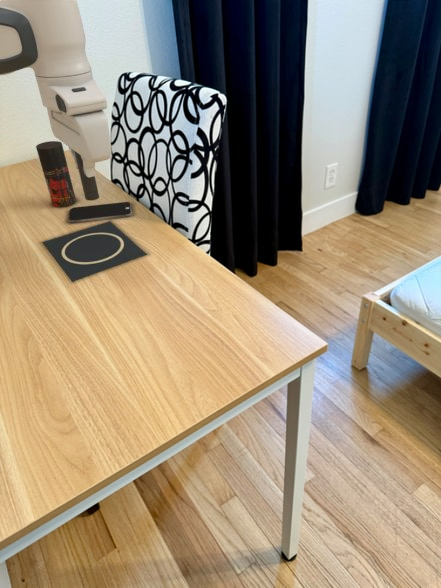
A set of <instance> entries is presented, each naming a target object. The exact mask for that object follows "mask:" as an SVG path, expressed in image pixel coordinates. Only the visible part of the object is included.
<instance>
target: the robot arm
mask: <svg viewBox="0 0 441 588" xmlns="http://www.w3.org/2000/svg"><path fill="white" fill-rule="evenodd" d="M77 1H78V0H0V76H7V75H10V74H13V73H15V72H17V71H20V70H23V69H26V68H27V69H32V71H33V73H34V77H35V80H36V84H37V88H38V91H39V95H40V99H41V103H42V105H43V107H44V108H46V110H47V115H48V120H49V124H50V128H51V129H50V130H51V132H52V134H53V136H54V137H55V138H56V139H57V140H58V141H59V142H61V143H62V144H63V145H66V146H67V147H68V150H69V152H70V155H71V157H72V159H73V161H74V164H75V169H77V170H78V166H77V161H76V157H75V153H74V151H76V152H77V153H78V154H80V155H81V158H82V159H83V166H82V168H83V171H84V174H85V175H86V176H87V177H93V176H95V177H96V175H97V171H96V163H99V162H100V163H101V162H104V161H108V160H110V159H111V156H112V145H111V135H110V130H109V129H110V128H109V123H108V119H107V115H106V112H105V111H104V110H106V109H107V108H108V104H107V103H108V102H107V98H106V95H105V94H104V92H103V91H102V90H101V89H100V88H99V86H98V85H97V83H96V80H95V79H94V77H93V71H92V67H91V64H90V62H89V59H88V57H87V53H86V52H87V51H86V35H85V29H84V24H83V20H82V17H81V16H82V15H81V11H80V7H79V4H78V2H77Z"/></svg>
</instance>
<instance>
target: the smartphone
mask: <svg viewBox="0 0 441 588" xmlns="http://www.w3.org/2000/svg"><path fill="white" fill-rule="evenodd" d="M132 215H133V211H132V203H131V202H129V201H122V202H114V203H113V202H111V203H103V204H94V205H86V206H85V205H84V206H76V207H71V208H70V209H69V212H68V217H67V221H68V223H70V224H77V223H86V222H96V221H104V220H105V221H106V220H114V219H124V218H129V217H130V218H131V216H132Z"/></svg>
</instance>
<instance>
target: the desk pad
mask: <svg viewBox="0 0 441 588" xmlns="http://www.w3.org/2000/svg"><path fill="white" fill-rule="evenodd" d="M42 244H43V245H44V247H45V248H46V249H47V250H48V252H49V253H50V255H51V256H52V257H53V258H54V259H55V262H56V263H57V264H59V266H60V267H61V269H62V270H63V271H64V272H65V274H66V275H67V277H68V278H69V280H70V281H71V282H73V283H74V282H76V281H79V280H81V279H82V280H83V279H84V278H87V277H90V276H93V275H96V274H98V273H100V272H101V273H102V272H103V271H107V270H109V269H111V268H114V267H118V266H120V265H123V264H125V263H128V262H130V261H134V260H136V259H139V258H142V257H144V256H147V255H148V253H146V251H144V250H143V249H142V248H141V247H140V246H139V245H138V244H136V243H135V242H134V241H133V240H132V239H131V238H130V237H128V236H127V234H125V233H124V232H123V231H122V230H121V229H119V228H118V227H117V226H116V225H115V224H114V223H113V222H112V221H110V220H109V221H106V222H103V223H99V224H96V225H93V226H89V227H87V228H83V229H80V230H77V231H73V232H70V233H67V234H64V235H60V236H58V237H54V238H51V239H48V240H45V241H42Z"/></svg>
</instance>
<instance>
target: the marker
mask: <svg viewBox="0 0 441 588" xmlns="http://www.w3.org/2000/svg"><path fill="white" fill-rule="evenodd" d="M74 153H75V157H76V161H77V166H78V169H77V170H78V174H79V178H80V182H81V186H82V191H83V194H84V199H85V200H86V201H90V202H91V201H96V200H98V199H99V198H100V194H99V190H98V185H97V180H96V175H95V176H93V177H87V176H86V175H85V174H84V171H83V168H82V166H83V159H82V158H81V155H80V154H78V153H77V152H76V151H74Z"/></svg>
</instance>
